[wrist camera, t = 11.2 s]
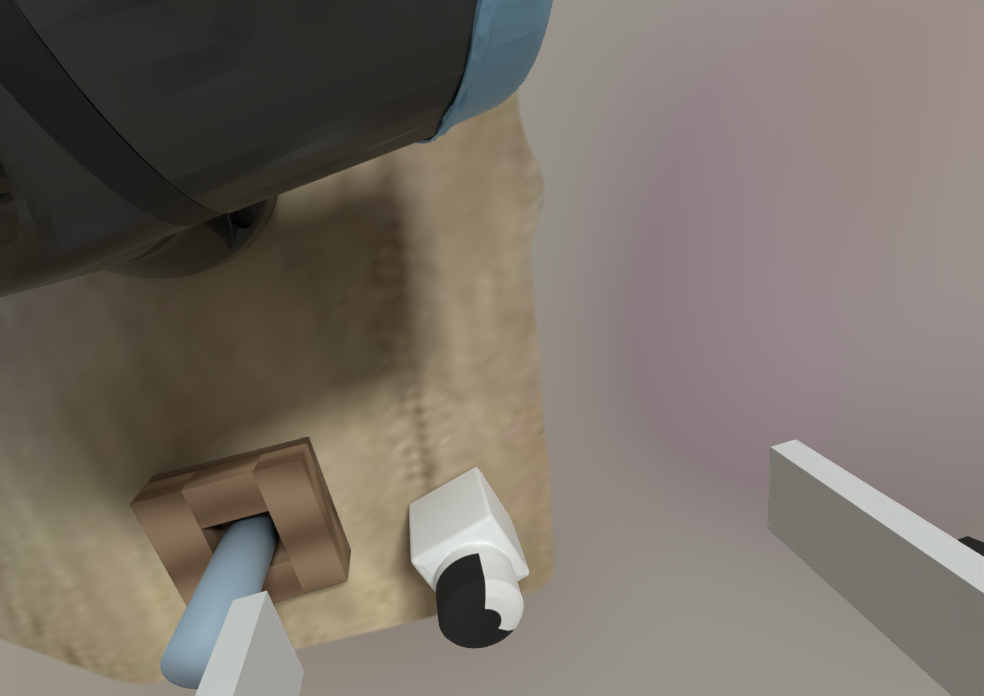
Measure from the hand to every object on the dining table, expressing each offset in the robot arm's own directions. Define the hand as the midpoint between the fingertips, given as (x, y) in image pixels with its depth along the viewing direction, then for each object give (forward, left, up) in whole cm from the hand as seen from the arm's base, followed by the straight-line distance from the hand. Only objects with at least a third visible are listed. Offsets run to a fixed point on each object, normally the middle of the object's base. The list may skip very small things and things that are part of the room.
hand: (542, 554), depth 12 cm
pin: (+14, -19, -26) cm, 35 cm away
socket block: (+14, -19, -27) cm, 36 cm away
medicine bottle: (+19, -3, -27) cm, 33 cm away
